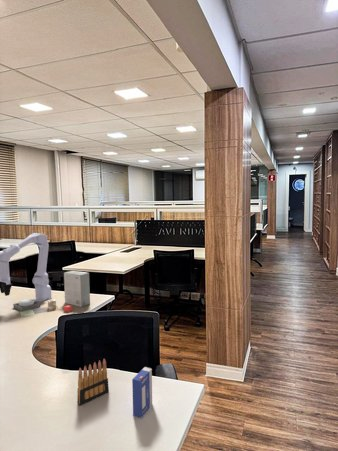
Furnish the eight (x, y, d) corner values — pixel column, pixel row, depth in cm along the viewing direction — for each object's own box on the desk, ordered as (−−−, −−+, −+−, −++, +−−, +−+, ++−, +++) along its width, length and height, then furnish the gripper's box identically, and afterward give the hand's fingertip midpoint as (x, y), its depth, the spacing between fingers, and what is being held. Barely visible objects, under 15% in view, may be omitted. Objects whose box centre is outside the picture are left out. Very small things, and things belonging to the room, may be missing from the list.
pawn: (54, 306, 198) (54, 298, 198) (56, 308, 194) (55, 300, 194) (48, 308, 196) (47, 300, 196) (49, 310, 192) (48, 301, 192)
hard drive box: (90, 303, 204) (89, 272, 202) (81, 307, 197) (80, 275, 196) (73, 300, 212) (72, 270, 210) (64, 303, 206) (63, 272, 204)
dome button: (30, 301, 204) (29, 298, 204) (37, 304, 198) (37, 300, 198) (15, 305, 197) (15, 301, 197) (22, 308, 191) (22, 304, 191)
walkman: (141, 418, 97) (140, 380, 96) (133, 415, 98) (132, 378, 97) (153, 403, 104) (152, 367, 103) (145, 401, 105) (144, 365, 104)
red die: (67, 310, 192) (67, 304, 192) (71, 310, 191) (71, 305, 191) (64, 312, 189) (63, 306, 189) (68, 312, 188) (68, 306, 188)
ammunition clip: (80, 406, 103) (78, 370, 102) (77, 403, 104) (76, 367, 103) (109, 392, 110) (108, 358, 109) (106, 390, 111) (105, 356, 110)
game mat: (56, 305, 201) (56, 305, 201) (59, 309, 193) (59, 309, 193) (19, 311, 190) (19, 311, 190) (21, 316, 183) (21, 316, 183)
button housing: (30, 303, 206) (30, 299, 205) (39, 307, 199) (39, 303, 198) (13, 308, 197) (13, 304, 197) (22, 312, 190) (21, 307, 190)
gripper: (-8, 271, 194) (-6, 293, 196) (0, 274, 184) (1, 298, 185) (5, 269, 199) (6, 290, 201) (13, 272, 189) (14, 295, 190)
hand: (5, 294), depth 193 cm, fingers open, 7 cm apart
